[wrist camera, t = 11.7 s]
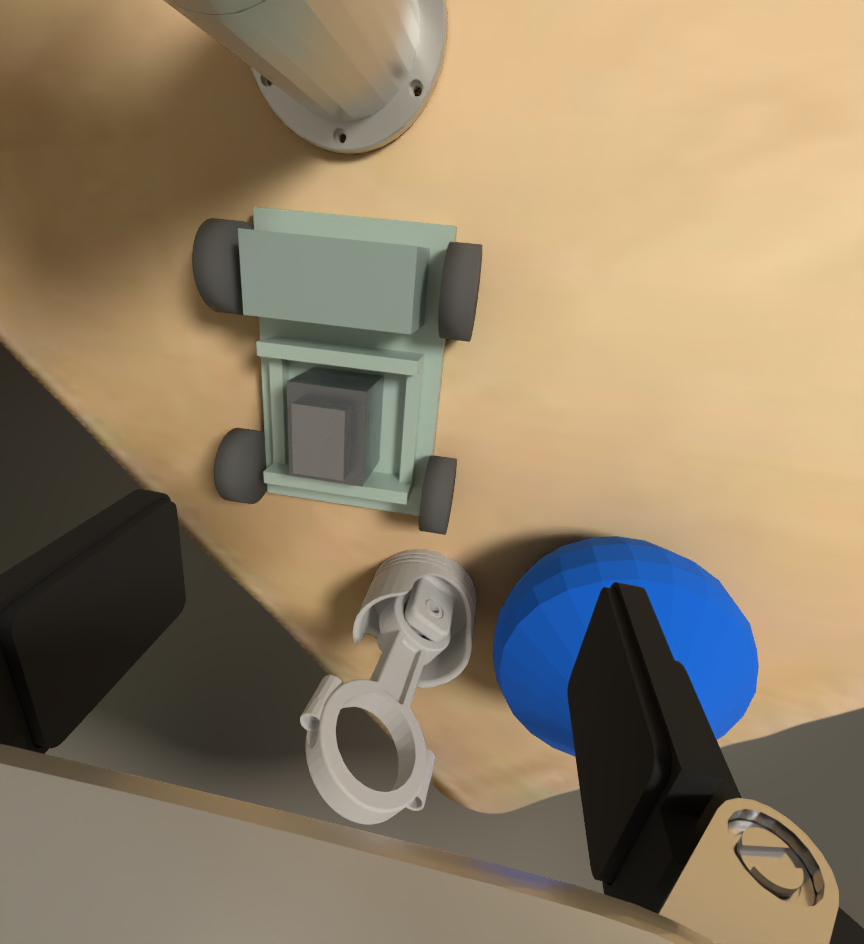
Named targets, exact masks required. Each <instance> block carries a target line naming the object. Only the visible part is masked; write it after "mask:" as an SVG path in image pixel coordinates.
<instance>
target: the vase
mask: <svg viewBox="0 0 864 944" xmlns="http://www.w3.org/2000/svg"><path fill="white" fill-rule="evenodd" d="M614 582H618V583H624V584H629V585H634V586H639V587H643V588H644V589H645V590H646V592H647V595H648V597H649V600H650V602H651V604H652V607H653V609H654V612H655V614H656V616H657V619H658V621H659V624H660V626H661V629H662V631H663V633H664V636H665V638H666V641H667V643H668V645H669V648H670V650H671V653H672V655H673V657H674V660H676V661H679V662H680V663H681V664H683V666H684V668H685V669H686V671H687V673H688V675H689V678H690V680H691V682H692V685H693V687H694V689H695V692H696V694H697V696H698V699H699V701H700V703H701V705H702V708H703V710H704V712H705V715H706V717H707V719H708V722H709V724H710V726H711V729H712V731H713V733H714V736H715V738H716V740H717V739H719V738H720V737H722V736H724V735H725V734H726V733H727V732H728V731H729V730H730V729H731V728H732V727H733V726H734V725H735V724H736V723H737V722H738V721H739V720H740V719H741V718H742V717H743V716H744V714H745V712H746V710H747V708H748V706H749V704H750V702H751V700H752V698H753V696H754V694H755V692H756V684H757V675H758V656H757V648H756V645H755V641H754V637H753V634H752V630H751V626H750V623H749V622H748V620H747V619H746V618H745V616H744V615H743V613H742V612H741V611H740V609H739V608H738V606H737V605H736V604H735V602H734V601H733V599H732V598H731V597H730V595H729V594H728V592H727V591H726V590H725V588H724V587H723V585H722V584H721V583H720V581H719V580H717V579H716V578H715V577H713V576H712V575H711V574H709V573H708V572H707V571H706V570H704V569H703V568H702V567H700V566H699V565H698V564H696V563H695V562H693V561H691V560H689V559H687V558H684V557H682V556H680V555H678V554H676V553H673V552H671V551H669V550H666V549H664V548H662V547H659V546H657V545H654V544H652V543H649V542H647V541H643V540H637V539H630V538H624V537H617V536H616V537H601V538H588V539H585V540H581V541H578V542H574V543H571V544H568V545H564V546H562V547H560V548H558V549H556V550H555V551H553V552H551V553H549V554H547V555H546V556H544V557H542V558H540V559H539V560H538V561H537V562H536V563H535V564H534V565H533V566H532V567H531V568H530V569H529V570H528V571H527V572H526V573H525V574H524V575H523V576H522V577H521V579H520V580H519V581H518V582H517V584H516V585H515V586H514V588H513V589H512V590H511V592H510V594H509V595H508V597H507V599H506V601H505V603H504V604H503V606H502V608H501V610H500V611H499V614H498V619H497V624H496V629H495V635H494V646H493V660H494V667H495V673H496V679H497V682H498V684H499V686H500V688H501V691H502V693H503V695H504V697H505V699H506V701H507V703H508V705H509V707H510V709H511V711H512V713H513V715H514V716H515V717H516V718H517V719H518V720H519V721H520V722H521V723H522V724H523V725H524V726H525V727H526V728H527V730H528V731H529V732H530V733H532V734H533V735H535V736H536V737H538V738H539V739H541V740H542V741H544V742H545V743H547V744H548V745H550V746H551V747H553V748H555V749H558V750H560V751H563V752H565V753H568V754H570V755H573V756H575V749H574V741H573V734H572V727H571V719H570V712H569V705H568V696H567V690H568V682H569V678H570V675H571V673H572V670H573V667H574V664H575V661H576V659H577V656H578V653H579V650H580V647H581V644H582V642H583V639H584V636H585V633H586V630H587V628H588V625H589V622H590V619H591V616H592V614H593V611H594V608H595V605H596V602H597V599H598V597H599V594H600V591H601V589H602V588H603V587H607V588H610V587H611V585H612V584H613V583H614ZM575 757H576V756H575Z"/></svg>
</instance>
